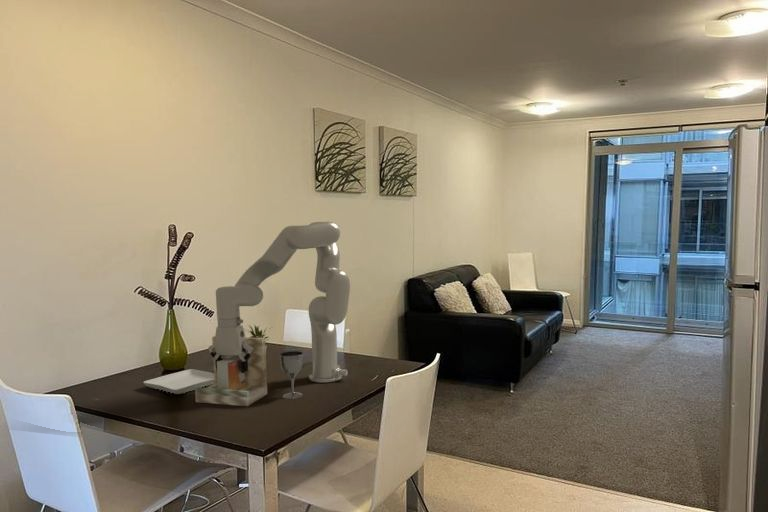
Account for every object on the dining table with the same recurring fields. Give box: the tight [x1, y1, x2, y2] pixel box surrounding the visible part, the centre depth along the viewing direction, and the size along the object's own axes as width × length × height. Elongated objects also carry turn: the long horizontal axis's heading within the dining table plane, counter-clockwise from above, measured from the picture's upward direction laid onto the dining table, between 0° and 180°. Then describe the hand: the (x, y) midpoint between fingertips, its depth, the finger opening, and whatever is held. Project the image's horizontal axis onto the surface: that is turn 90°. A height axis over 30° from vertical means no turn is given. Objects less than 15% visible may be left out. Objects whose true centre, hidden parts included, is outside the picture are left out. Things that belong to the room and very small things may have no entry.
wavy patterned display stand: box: [194, 335, 268, 407], centre depth 190 cm, size 20×13×20 cm, turn 73°
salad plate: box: [142, 368, 214, 395], centre depth 207 cm, size 21×21×3 cm
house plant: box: [244, 324, 273, 353], centre depth 243 cm, size 14×14×16 cm
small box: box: [217, 357, 246, 390], centre depth 190 cm, size 8×6×10 cm
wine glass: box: [279, 350, 304, 400], centre depth 191 cm, size 8×8×15 cm
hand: (232, 371), depth 191 cm, fingers open, 9 cm apart
